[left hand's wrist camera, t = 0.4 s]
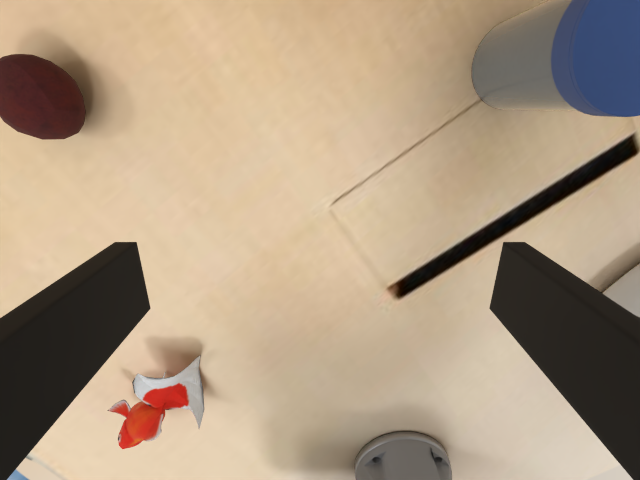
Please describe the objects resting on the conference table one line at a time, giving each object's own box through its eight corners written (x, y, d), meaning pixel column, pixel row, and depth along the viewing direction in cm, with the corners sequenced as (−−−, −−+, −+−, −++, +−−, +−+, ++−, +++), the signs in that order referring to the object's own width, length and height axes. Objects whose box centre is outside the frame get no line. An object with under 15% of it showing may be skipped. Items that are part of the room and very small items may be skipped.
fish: (73, 396, 45) (71, 463, 37) (175, 318, 48) (192, 365, 41) (131, 426, 52) (139, 488, 44) (217, 355, 55) (239, 401, 47)
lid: (643, -82, 20) (680, -103, 18) (723, 28, 22) (764, 20, 20) (521, 55, 23) (541, 50, 21) (603, 142, 25) (629, 146, 23)
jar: (518, -5, 33) (669, -89, 19) (573, 57, 35) (748, 23, 21) (454, 73, 35) (544, 50, 21) (508, 126, 37) (625, 139, 23)
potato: (59, 43, 34) (-3, 29, 28) (116, 112, 37) (72, 114, 30) (12, 88, 36) (-58, 84, 29) (69, 151, 38) (17, 161, 31)
